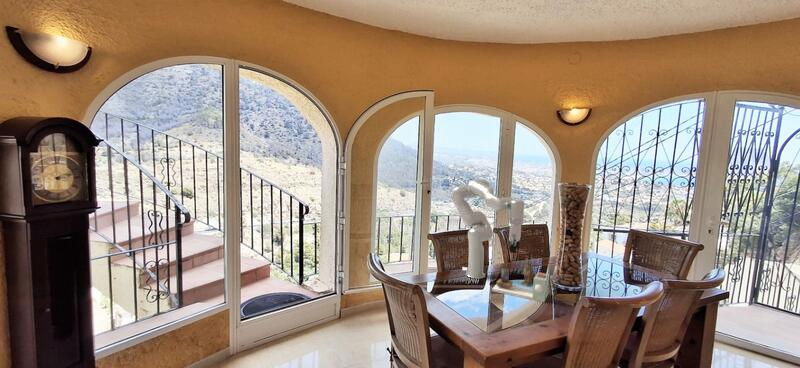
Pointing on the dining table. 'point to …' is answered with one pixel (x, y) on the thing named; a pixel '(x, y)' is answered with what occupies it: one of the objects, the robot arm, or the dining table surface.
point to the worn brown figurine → (528, 274)
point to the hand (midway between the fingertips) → (514, 250)
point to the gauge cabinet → (540, 288)
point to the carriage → (504, 279)
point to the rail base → (515, 291)
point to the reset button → (541, 275)
